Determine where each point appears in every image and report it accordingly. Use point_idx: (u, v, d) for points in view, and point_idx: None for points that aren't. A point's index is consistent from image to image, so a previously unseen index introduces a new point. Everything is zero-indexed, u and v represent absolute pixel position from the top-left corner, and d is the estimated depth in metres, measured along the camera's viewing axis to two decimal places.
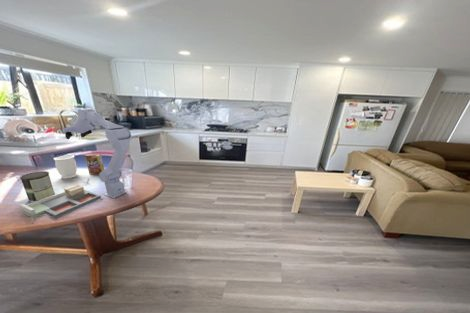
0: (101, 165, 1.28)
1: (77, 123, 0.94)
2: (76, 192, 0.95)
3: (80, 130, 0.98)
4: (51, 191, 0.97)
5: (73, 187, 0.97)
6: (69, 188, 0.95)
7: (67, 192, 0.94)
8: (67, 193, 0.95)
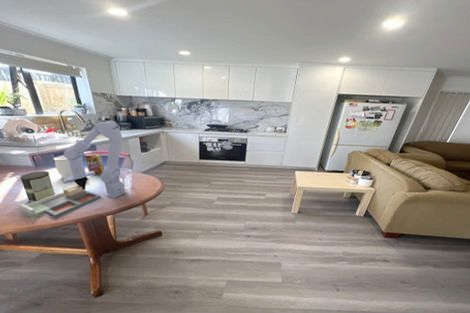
0: (101, 165, 1.28)
1: (74, 167, 0.94)
2: (75, 192, 0.95)
3: (79, 174, 0.96)
4: (51, 191, 0.97)
5: (72, 187, 0.96)
6: (68, 188, 0.95)
7: (66, 193, 0.94)
8: (66, 193, 0.94)
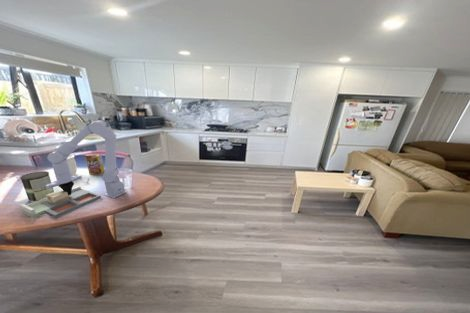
0: (101, 165, 1.28)
1: (60, 171, 0.88)
2: (59, 198, 0.89)
3: (63, 179, 0.90)
4: (51, 191, 0.97)
5: (56, 193, 0.90)
6: (52, 194, 0.89)
7: (49, 199, 0.88)
8: (49, 199, 0.88)
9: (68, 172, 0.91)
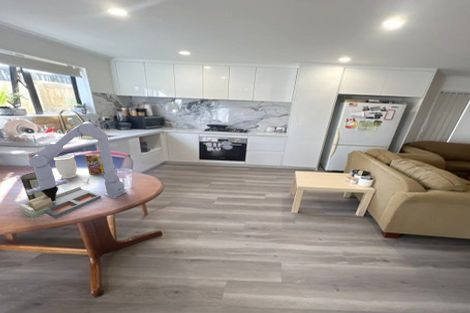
0: (101, 165, 1.28)
1: (44, 176, 0.82)
2: (41, 204, 0.83)
3: (46, 184, 0.84)
4: None
5: (39, 199, 0.84)
6: (33, 200, 0.83)
7: (31, 205, 0.82)
8: (31, 206, 0.82)
9: (52, 177, 0.85)
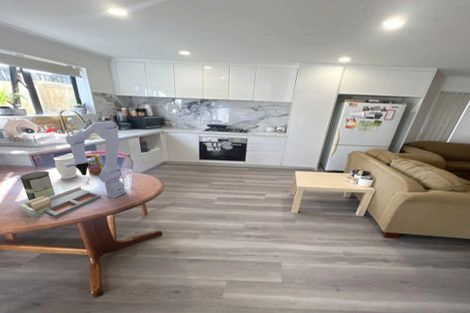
0: (101, 165, 1.28)
1: (74, 153, 0.98)
2: (40, 205, 0.82)
3: (80, 159, 1.00)
4: (51, 191, 0.97)
5: (37, 199, 0.84)
6: (32, 201, 0.83)
7: (29, 206, 0.82)
8: (30, 206, 0.82)
9: (84, 154, 1.02)
